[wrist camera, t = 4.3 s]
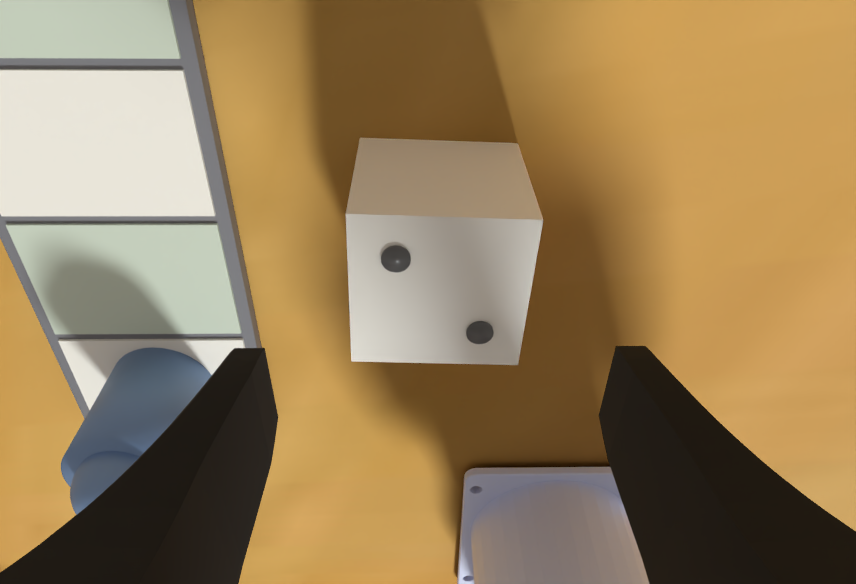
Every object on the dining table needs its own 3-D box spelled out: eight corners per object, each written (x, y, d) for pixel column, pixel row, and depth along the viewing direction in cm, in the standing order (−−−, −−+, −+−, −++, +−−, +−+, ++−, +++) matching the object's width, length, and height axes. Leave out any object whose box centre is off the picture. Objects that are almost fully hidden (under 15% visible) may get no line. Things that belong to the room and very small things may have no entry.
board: (275, 415, 24) (272, 427, 24) (93, 416, 24) (87, 428, 24) (161, -155, 13) (151, -155, 13) (-166, -159, 13) (-188, -158, 13)
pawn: (225, 419, 23) (179, 558, 19) (129, 419, 23) (60, 559, 19) (205, 347, 21) (149, 484, 17) (99, 347, 21) (14, 486, 17)
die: (499, 271, 20) (518, 367, 17) (360, 267, 20) (347, 363, 17) (517, 142, 18) (544, 222, 14) (356, 136, 18) (340, 215, 14)
